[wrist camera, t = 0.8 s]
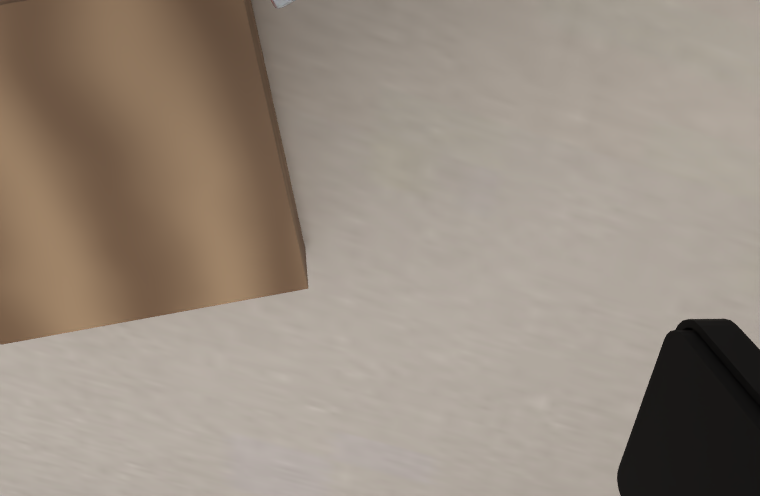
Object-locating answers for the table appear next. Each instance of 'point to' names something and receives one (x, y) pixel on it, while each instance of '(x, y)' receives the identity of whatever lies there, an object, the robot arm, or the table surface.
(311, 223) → the table surface
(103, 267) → the walnut slab
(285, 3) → the small box
